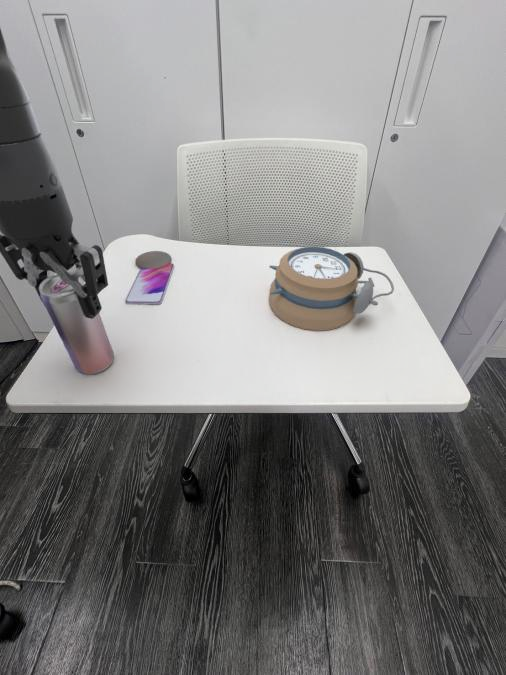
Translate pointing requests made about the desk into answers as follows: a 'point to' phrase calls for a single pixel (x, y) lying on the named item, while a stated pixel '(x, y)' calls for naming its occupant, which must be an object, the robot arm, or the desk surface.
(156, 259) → the coaster
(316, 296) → the alarm clock
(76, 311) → the beverage can
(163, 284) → the smartphone
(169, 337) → the desk surface
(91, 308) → the robot arm
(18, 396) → the desk surface
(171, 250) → the desk surface
